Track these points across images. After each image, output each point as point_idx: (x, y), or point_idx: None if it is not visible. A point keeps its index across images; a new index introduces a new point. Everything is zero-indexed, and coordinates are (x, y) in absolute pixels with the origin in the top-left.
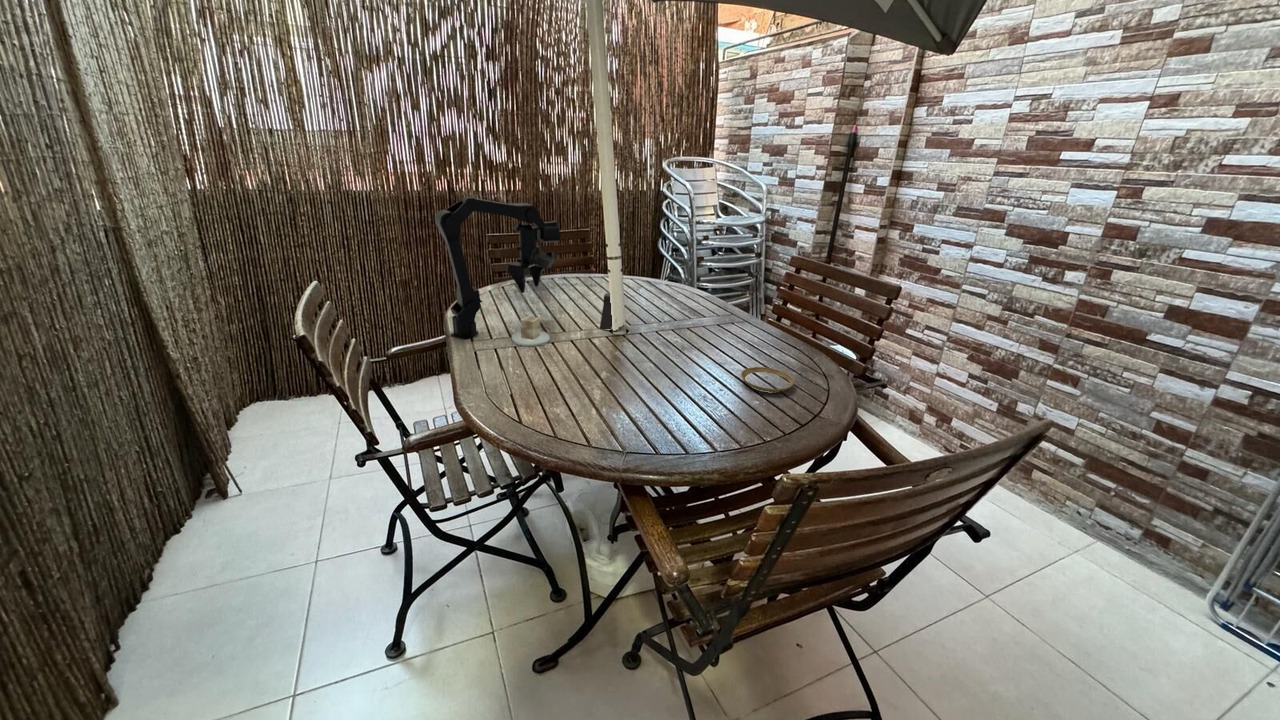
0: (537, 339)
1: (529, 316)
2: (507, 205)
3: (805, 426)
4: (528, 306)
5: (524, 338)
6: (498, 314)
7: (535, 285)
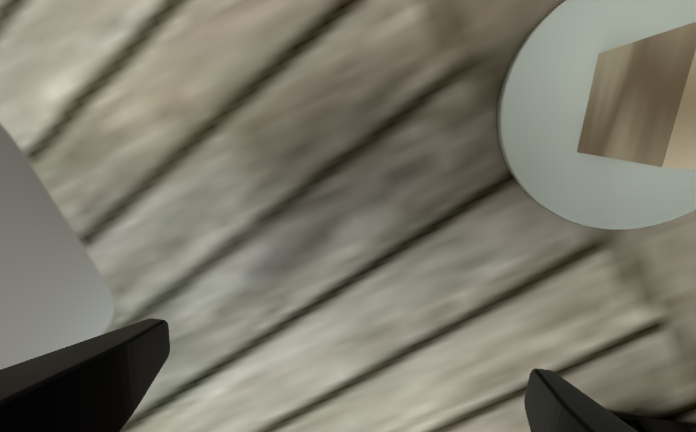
0: None
1: (675, 143)
2: None
3: None
4: None
5: None
6: (287, 429)
7: (163, 352)
